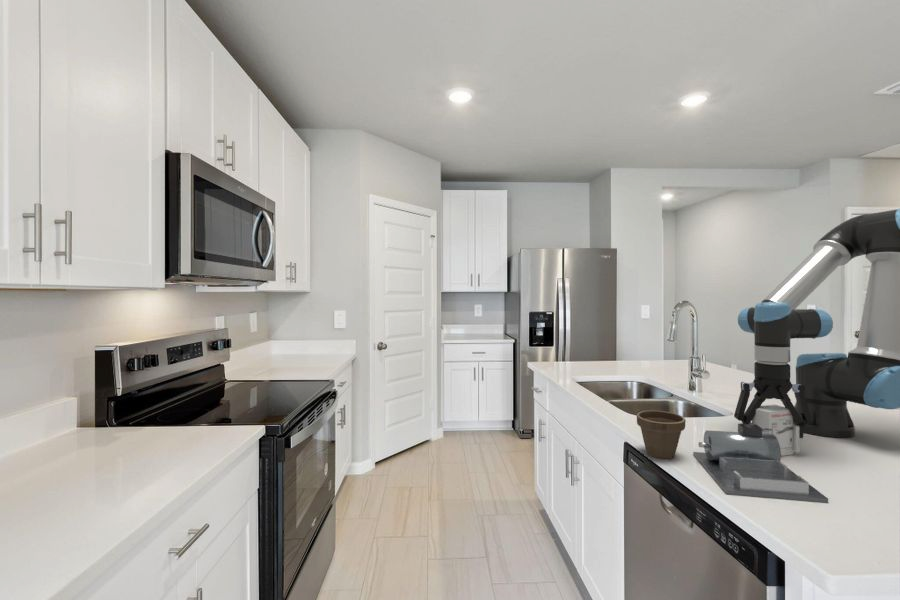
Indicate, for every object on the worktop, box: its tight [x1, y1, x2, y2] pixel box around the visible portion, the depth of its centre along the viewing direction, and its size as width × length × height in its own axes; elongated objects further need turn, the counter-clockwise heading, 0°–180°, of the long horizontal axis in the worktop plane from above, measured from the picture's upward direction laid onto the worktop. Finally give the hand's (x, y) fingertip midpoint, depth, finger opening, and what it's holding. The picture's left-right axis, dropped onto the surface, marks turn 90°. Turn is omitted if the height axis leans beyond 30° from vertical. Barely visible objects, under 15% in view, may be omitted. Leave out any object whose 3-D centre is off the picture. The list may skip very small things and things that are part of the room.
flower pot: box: [636, 410, 687, 460], centre depth 115 cm, size 12×11×10 cm
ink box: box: [751, 404, 794, 457], centre depth 115 cm, size 9×5×12 cm, turn 106°
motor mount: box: [692, 423, 829, 503], centre depth 101 cm, size 18×23×10 cm
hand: (772, 448), depth 115 cm, fingers closed on ink box, 9 cm apart
